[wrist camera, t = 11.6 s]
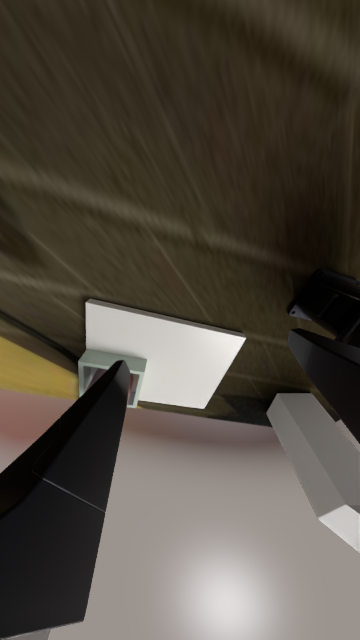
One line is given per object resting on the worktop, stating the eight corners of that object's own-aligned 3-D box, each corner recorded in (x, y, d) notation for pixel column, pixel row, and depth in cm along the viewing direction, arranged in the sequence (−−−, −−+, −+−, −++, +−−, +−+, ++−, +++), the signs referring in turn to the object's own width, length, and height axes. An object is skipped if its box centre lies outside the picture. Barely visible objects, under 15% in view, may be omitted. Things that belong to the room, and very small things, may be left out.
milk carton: (265, 412, 36) (342, 571, 19) (276, 392, 32) (383, 565, 16) (296, 412, 36) (398, 568, 20) (311, 392, 33) (449, 561, 16)
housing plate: (243, 333, 25) (253, 349, 21) (202, 403, 33) (206, 422, 30) (90, 298, 21) (74, 311, 18) (89, 387, 30) (79, 406, 26)
